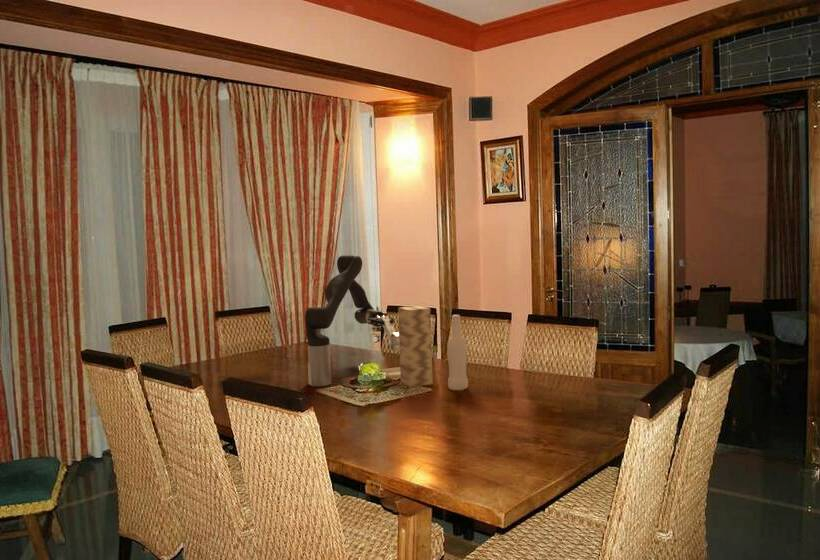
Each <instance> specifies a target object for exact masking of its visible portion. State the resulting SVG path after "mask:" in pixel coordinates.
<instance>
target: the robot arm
mask: <svg viewBox="0 0 820 560" xmlns="http://www.w3.org/2000/svg"><path fill="white" fill-rule="evenodd" d="M336 267H337V270H338V274H336V276H334V277H332V278H331V279H330V280H329V282H328V284H327V286H325V289H324V297H325V300H326V302H327V304H326V305H325V306H323V307H321V306H311V307H308V308H307V309H306V311H305V313H304V323H305V324H304V325H305V334H306V340H307V341H306V342H307V352H308V362H307V378H308V379H307V380H308V381H307V383H308V385H309V386H311V387H326V386H329V385H331V384H332V371H331V369H332V368H331V350H330V349H331V348H330V343H331V341H330V337H328V336H326V335H324V334H322V333H321V332H320V331H319V330H325V329H326V330H327V329H329V328H330V327H331V325H332V323H333V321H334V319H335V316H336V314H337V311H338V309H339V307H340V305H341V303H342V302H343V299H344V298H345V296H346V294H347V292H349V293H350V296H351V299H352V302H353V305H354V306H355V308H357V310H355V312H354V319H355V320H356V322H358V323H359V324H363V325H364V324H368V325H371V326H374V327H377V328H379V327H383V326H382V325H385V321H384V320H381V317H383V316H386V315H385V313H384V312H382V311H381V310H377V309H375V308H374V307H373V305H372V304H371V303H370V302H369V300H368V297H367V293H366V291H365V289H364V288H363V286H362V285H361V284H360V283H359V282H358V281H356V280H355V279H357V277H358V275H360V273H361V270H362V267H363V259H362V257H361V256H359V255H357V254H346V255H340V256H338V258H337V260H336ZM388 318H389V320H390V322H391V324H392V325H393V324H395V323H394V322H395V316H393V315H392V316H389V317H388Z"/></svg>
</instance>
